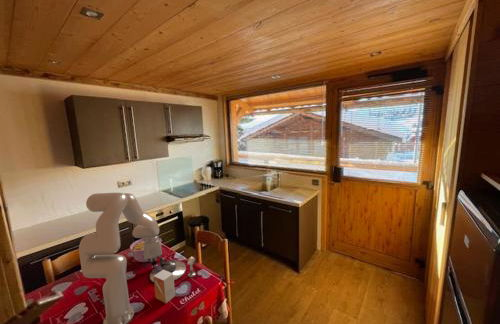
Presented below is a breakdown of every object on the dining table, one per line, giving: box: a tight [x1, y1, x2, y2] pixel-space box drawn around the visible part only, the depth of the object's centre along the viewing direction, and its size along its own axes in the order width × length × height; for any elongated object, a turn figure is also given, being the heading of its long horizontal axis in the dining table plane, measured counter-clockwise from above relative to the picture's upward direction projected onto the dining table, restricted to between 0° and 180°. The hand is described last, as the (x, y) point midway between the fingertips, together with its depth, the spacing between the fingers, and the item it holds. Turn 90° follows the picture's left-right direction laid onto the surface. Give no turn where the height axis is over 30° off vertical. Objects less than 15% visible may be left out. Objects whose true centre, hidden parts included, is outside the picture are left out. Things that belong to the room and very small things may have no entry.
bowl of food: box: [129, 236, 162, 263], centre depth 151 cm, size 20×20×12 cm
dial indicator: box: [187, 256, 197, 278], centre depth 131 cm, size 4×4×12 cm
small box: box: [153, 270, 176, 304], centre depth 113 cm, size 8×6×13 cm
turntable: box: [149, 256, 187, 283], centre depth 134 cm, size 21×21×6 cm
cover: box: [164, 259, 177, 273], centre depth 135 cm, size 7×7×5 cm
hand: (154, 265), depth 138 cm, fingers closed
